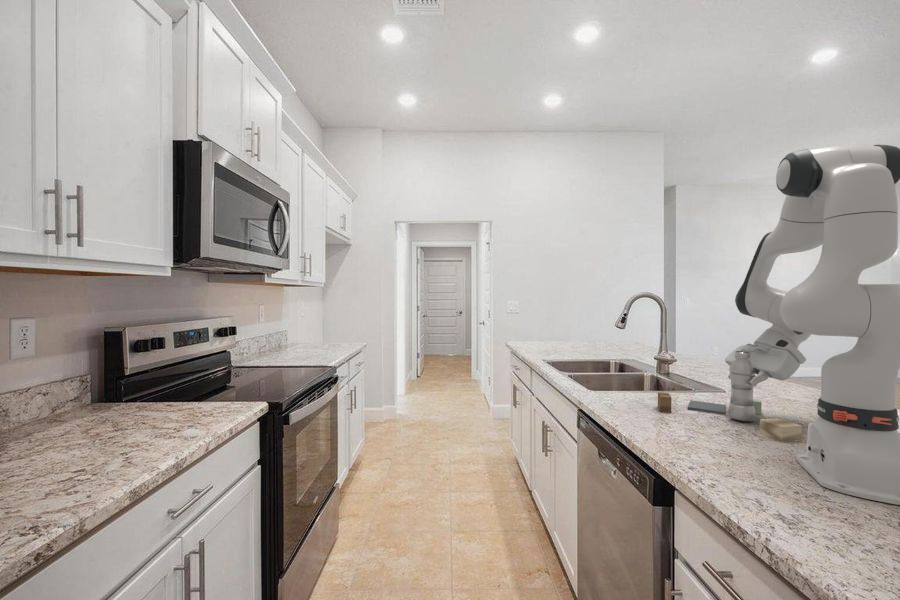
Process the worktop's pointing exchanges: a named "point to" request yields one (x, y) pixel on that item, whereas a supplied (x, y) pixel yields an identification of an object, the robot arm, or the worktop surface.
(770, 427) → the beech brick
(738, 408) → the plastic bottle
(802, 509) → the worktop surface
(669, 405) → the walnut brick
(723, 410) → the mat
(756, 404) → the sage brick
